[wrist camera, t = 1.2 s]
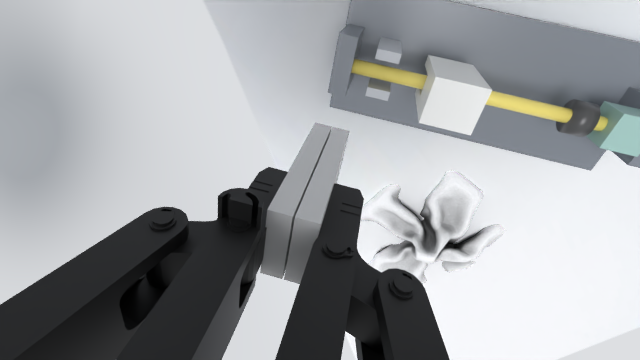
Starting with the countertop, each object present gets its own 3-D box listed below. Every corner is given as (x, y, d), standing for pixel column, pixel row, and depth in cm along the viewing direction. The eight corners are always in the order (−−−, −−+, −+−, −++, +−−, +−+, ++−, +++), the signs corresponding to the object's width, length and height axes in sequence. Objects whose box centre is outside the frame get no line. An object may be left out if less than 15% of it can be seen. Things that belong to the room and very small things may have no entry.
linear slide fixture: (331, 103, 38) (317, 129, 31) (356, -20, 31) (345, -17, 25) (585, 164, 36) (625, 206, 29) (670, 48, 29) (745, 70, 23)
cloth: (377, 287, 53) (375, 321, 47) (333, 193, 45) (324, 222, 40) (538, 267, 44) (556, 305, 39) (518, 147, 37) (537, 175, 32)
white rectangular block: (415, 93, 32) (418, 122, 26) (428, 54, 30) (435, 76, 24) (456, 103, 31) (470, 135, 25) (473, 64, 29) (492, 89, 23)
